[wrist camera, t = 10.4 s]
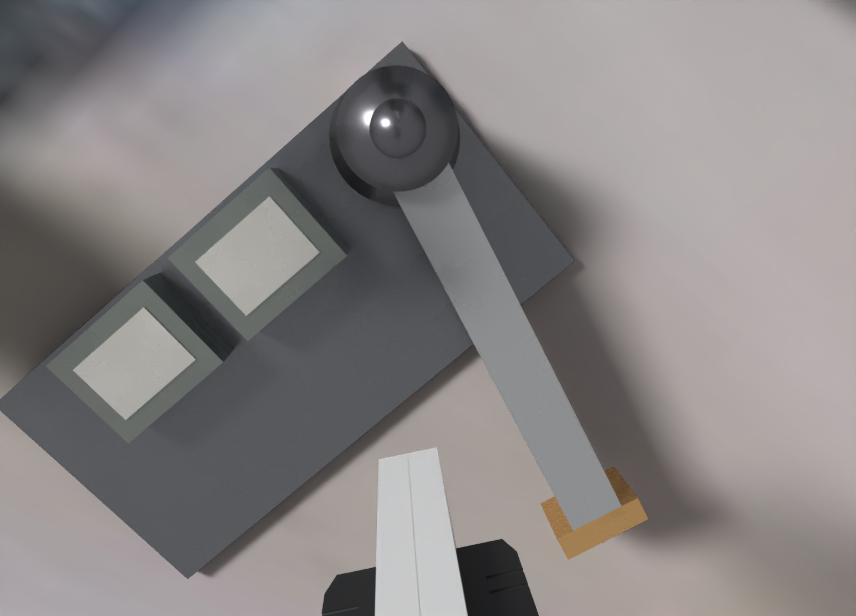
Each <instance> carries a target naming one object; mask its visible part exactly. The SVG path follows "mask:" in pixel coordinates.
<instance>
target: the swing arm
mask: <svg viewBox="0 0 856 616" xmlns="http://www.w3.org/2000/svg"><path fill="white" fill-rule="evenodd" d="M336 131H337V140H338V144H339V148H340V151H341V153H342V155H343V157H344V159H345V161H346V163H347V164H348V166H349V167H350V168H351V169H352V171H353V172H354V173H355V174H356V175H357V176H358V177H359V178H361V179H362V180H363V181H365V182H366V183H368V184H370V185H372V186H374V187H376V188H379V189H382V190H386V191H393V193H394V195H395V196H396V198H397V200H398V202H399V204H400V206H401V208H402V210H403V212H404V213H405V215H406V217H407V219H408V221H409V223H410V225H411V227H412V228H413V230H414V232H415V234H416V236H417V238H418V240H419V242H420V243H421V245H422V247H423V249H424V251H425V253H426V255H427V257H428V259H429V260H430V262H431V264H432V266H433V268H434V270H435V272H436V274H437V275H438V277H439V279H440V281H441V283H442V285H443V287H444V289H445V291H446V292H447V294H448V296H449V298H450V300H451V302H452V304H453V306H454V307H455V309H456V311H457V313H458V315H459V317H460V319H461V321H462V323H463V324H464V326H465V328H466V330H467V332H468V334H469V336H470V338H471V339H472V341H473V343H474V345H475V347H476V349H477V351H478V353H479V354H480V356H481V358H482V360H483V362H484V364H485V366H486V368H487V370H488V371H489V373H490V375H491V377H492V379H493V381H494V383H495V385H496V386H497V388H498V390H499V392H500V394H501V396H502V398H503V400H504V402H505V403H506V405H507V407H508V409H509V411H510V413H511V415H512V417H513V418H514V420H515V422H516V424H517V426H518V428H519V430H520V432H521V434H522V435H523V437H524V439H525V441H526V443H527V445H528V447H529V449H530V450H531V452H532V454H533V456H534V458H535V460H536V462H537V464H538V465H539V467H540V469H541V471H542V473H543V475H544V477H545V479H546V481H547V482H548V484H549V486H550V488H551V490H552V492H553V494H554V496H555V497H553V498H551V499H549V500H547V501H545V502H543V503H541V506H542V508H543V510H544V512H545V514H546V516H547V518H548V521H549V523H550V525H551V527H552V529H553V531H554V533H555V536H556V538H557V540H558V542H559V543H560V545H561V547H562V549H563V551H564V553H565V554H566V556H567V558H568V560H569V559H571V558H573V557H575V556H577V555H578V554H580V553H582V552H584V551H586V550H588V549H590V548H592V547H594V546H596V545H598V544H600V543H602V542H604V541H606V540H608V539H610V538H612V537H614V536H616V535H618V534H620V533H622V532H624V531H626V530H628V529H630V528H632V527H634V526H636V525H638V524H640V523H642V522H644V521H646V520H648V517H647V515H646V513H645V511H644V509H643V507H642V505H641V503H640V501H639V499H638V497H637V496H636V495H635V493H634V492H633V491H632V490H631V488H630V487H629V486H628V484H627V483H626V482H625V481H624V479H623V478H622V477H621V475H620V474H619V473H618V471H617V470H616V469H615V468H614V466H613V467H611V468H609V469H607V470H605V471H604V470H603V468H602V466H601V464H600V462H599V460H598V458H597V456H596V454H595V452H594V450H593V448H592V446H591V444H590V442H589V440H588V438H587V436H586V434H585V432H584V430H583V428H582V426H581V424H580V422H579V420H578V418H577V416H576V414H575V412H574V410H573V408H572V406H571V405H570V403H569V401H568V399H567V397H566V395H565V393H564V391H563V389H562V387H561V385H560V383H559V381H558V379H557V377H556V375H555V373H554V371H553V369H552V367H551V365H550V363H549V361H548V359H547V357H546V355H545V353H544V351H543V349H542V347H541V345H540V343H539V341H538V339H537V337H536V335H535V333H534V331H533V329H532V327H531V325H530V323H529V321H528V319H527V317H526V315H525V313H524V311H523V309H522V307H521V305H520V303H519V301H518V299H517V297H516V295H515V293H514V291H513V289H512V287H511V285H510V283H509V281H508V279H507V277H506V275H505V273H504V272H503V270H502V268H501V266H500V264H499V262H498V260H497V258H496V256H495V254H494V252H493V250H492V248H491V246H490V244H489V242H488V240H487V238H486V236H485V234H484V232H483V230H482V228H481V226H480V224H479V222H478V220H477V218H476V216H475V214H474V212H473V210H472V208H471V206H470V204H469V202H468V200H467V198H466V196H465V194H464V192H463V190H462V188H461V186H460V184H459V182H458V180H457V178H456V176H455V174H454V172H453V170H452V168H451V166H450V164H449V162H450V160H451V158H452V156H453V153H454V151H455V148H456V143H457V138H458V121H457V115H456V111H455V108H454V106H453V103H452V101H451V99H450V97H449V95H448V94H447V92H446V91H445V90H444V88H443V87H442V86H441V85H440V84H439V83H438V82H437V81H436V80H435V79H434V78H432V77H431V76H430V75H428V74H426V73H424V72H423V71H420V70H418V69H415V68H412V67H408V66H400V65H392V66H385V67H381V68H378V69H375V70H372V71H370V72H368V73H367V74H365V75H363V76H362V77H361V78H359V79H358V80H357V81H356V82H355V83H354V84H353V85H352V86H351V87H350V88H349V90H348V91H347V93H346V94H345V96H344V98H343V100H342V102H341V105H340V108H339V111H338V116H337V124H336Z"/></svg>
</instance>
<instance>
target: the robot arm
mask: <svg viewBox="0 0 856 616" xmlns="http://www.w3.org/2000/svg"><path fill="white" fill-rule="evenodd" d="M322 616H539V615H538V612H537V609H536V606H535V603H534V600H533V597H532V594H531V592H530V589H529V587H528V583H527V580H526V577H525V574H524V572H523V568H522V565H521V562H520V560H519V557H518V554H517V551H515V550H514V549H513V548H512V547H511V546H510V545H508V544H507V543H506V542H505V541H504V540H503V539H499V540H494V541H490V542H485V543H480V544H475V545H470V546H466V547H461V548H457V547H456V542H455V537H454V532H453V527H452V522H451V517H450V512H449V507H448V502H447V497H446V492H445V487H444V482H443V477H442V472H441V467H440V462H439V457H438V452H437V448H432V449H427V450H422V451H417V452H412V453H407V454H402V455H397V456H392V457H388V458H383V459H379V474H378V514H377V553H376V567H373V568H369V569H364V570H359V571H354V572H349V573H345V574H340V575H337V576H336V577H335V579H334V580H333V582H332V583H331V585H330V586H329V588H328V589H327V591H326V592H325V595H324V602H323V609H322Z"/></svg>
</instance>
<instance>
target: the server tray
mask: <svg viewBox="0 0 856 616" xmlns="http://www.w3.org/2000/svg"><path fill="white" fill-rule="evenodd" d="M392 65H400V66H408V67H412V68H415V69H418V70H420V71H423V72H424V73H426V74H428V73H427V72H426V71H425V70H424V68H423V67H422V66H421V65H420V63H419V62H418V61H417V59H416V58H415V57H414V56H413V54H412V53H411V52H410V51H409V49H408V48H407V47H406V45H405V44H404V43H403V42H401V43H400V44H399V45H398V46H396V47H395V48H394V49H393V50H392V51H391V52H390V53H389V54H387V55H386V56H385V57H384V58H383V59H382V60H381V61H380V62H378V63H377V64H376V65H375V66H374V67H373V68H372V69H371V70H369V71H368V72H370V71H372V70H375V69H378V68H381V67H385V66H392ZM368 72H367V73H368ZM367 73H366V74H367ZM348 90H349V89H348ZM348 90H347V91H348ZM347 91H346V92H345V93H344V94H342V95H341V96H340V97H339V98H338V99H337V100H336V101H335V102H334V103H332V104H331V105H330V106H329V107H328V108H327V109H326V110H325V111H323V112H322V113H321V114H320V115H319V116H318V117H317V118H316V119H314V120H313V121H312V122H311V123H310V124H309V125H308V126H307V127H305V128H304V129H303V130H302V131H301V132H300V133H299V134H298V135H296V136H295V137H294V138H293V139H292V140H291V141H290V142H289V143H287V144H286V145H285V146H284V147H283V148H282V149H281V150H280V151H278V152H277V153H276V154H275V155H274V156H273V157H272V158H271V159H270V160H268V161H267V162H266V163H265V164H264V165H263V166H262V167H261V168H259V169H258V170H257V171H256V172H255V173H254V174H253V175H252V176H250V177H249V178H248V179H247V180H246V181H245V182H244V183H243V184H241V185H240V186H239V187H238V188H237V189H236V190H235V191H234V192H232V193H231V194H230V195H229V196H228V197H227V198H226V199H225V200H223V201H222V202H221V203H220V204H219V205H218V206H217V207H216V208H214V209H213V210H212V211H211V212H210V213H209V214H208V215H207V216H205V217H204V218H203V219H202V220H201V221H200V222H199V223H198V224H197V225H195V226H194V227H193V228H192V229H191V230H190V231H189V232H188V233H186V234H185V235H184V236H183V237H182V238H181V239H180V240H179V241H177V242H176V243H175V244H174V245H173V246H172V247H171V248H170V249H168V250H167V251H166V252H165V253H164V254H163V255H162V256H161V257H159V258H158V259H157V260H156V261H155V262H154V263H153V264H152V265H150V266H149V267H148V268H147V269H146V270H145V271H144V272H143V273H141V274H140V275H139V276H138V277H137V278H136V279H135V280H134V281H132V282H131V283H130V284H129V285H128V286H127V287H126V288H125V289H124V290H122V291H121V292H120V293H119V294H118V295H117V296H116V297H115V298H113V299H112V300H111V301H110V302H109V303H108V304H107V305H106V306H104V307H103V308H102V309H101V310H100V311H99V312H98V313H97V314H95V315H94V316H93V317H92V318H91V319H90V320H89V321H88V322H86V323H85V324H84V325H83V326H82V327H81V328H80V329H79V330H77V331H76V332H75V333H74V334H73V335H72V336H71V337H70V338H68V339H67V340H66V341H65V342H64V343H63V344H62V345H61V346H59V347H58V348H57V349H56V350H55V351H54V352H53V353H52V354H51V355H49V356H48V357H47V358H46V359H45V360H44V361H43V362H42V363H40V364H39V365H38V366H37V367H36V368H35V369H34V370H33V371H31V372H30V373H29V374H28V375H27V376H26V377H25V378H24V379H22V380H21V381H20V382H19V383H18V384H17V385H16V386H15V387H13V388H12V389H11V390H10V391H9V392H8V393H7V394H6V395H4V396H3V397H2V398H1V399H0V411H1V412H3V413H4V414H5V415H6V416H7V417H8V418H9V419H10V420H11V421H13V422H14V423H15V424H16V425H17V426H18V427H19V428H20V429H21V430H23V431H24V432H25V433H26V434H27V435H28V436H29V437H30V438H31V439H33V440H34V441H35V442H36V443H37V444H38V445H39V446H40V447H41V448H43V449H44V450H45V451H46V452H47V453H48V454H49V455H50V456H51V457H53V458H54V459H55V460H56V461H57V462H58V463H59V464H60V465H61V466H63V467H64V468H65V469H66V470H67V471H68V472H69V473H70V474H71V475H73V476H74V477H75V478H76V479H77V480H78V481H79V482H80V483H81V484H83V485H84V486H85V487H86V488H87V489H88V490H89V491H90V492H91V493H93V494H94V495H95V496H96V497H97V498H98V499H99V500H100V501H101V502H103V503H104V504H105V505H106V506H107V507H108V508H109V509H110V510H111V511H113V512H114V513H115V514H116V515H117V516H118V517H119V518H120V519H121V520H123V521H124V522H125V523H126V524H127V525H128V526H129V527H130V528H131V529H133V530H134V531H135V532H136V533H137V534H138V535H139V536H140V537H141V538H143V539H144V540H145V541H146V542H147V543H148V544H149V545H150V546H151V547H153V548H154V549H155V550H156V551H157V552H158V553H159V554H160V555H162V556H163V557H164V558H165V559H166V560H167V561H168V562H169V563H170V564H172V565H173V566H174V567H175V568H176V569H177V570H178V571H179V572H180V573H182V574H183V575H184V576H185V577H186V578H187V579H188V578H190V577H191V576H192V575H193V574H194V573H196V572H197V571H198V570H199V569H200V568H202V567H203V566H204V565H205V564H207V563H208V562H209V561H210V560H211V559H213V558H214V557H215V556H216V555H218V554H219V553H220V552H221V551H222V550H224V549H225V548H226V547H227V546H228V545H230V544H231V543H232V542H233V541H235V540H236V539H237V538H238V537H239V536H241V535H242V534H243V533H244V532H245V531H247V530H248V529H249V528H250V527H252V526H253V525H254V524H255V523H256V522H258V521H259V520H260V519H261V518H262V517H264V516H265V515H266V514H267V513H269V512H270V511H271V510H272V509H273V508H275V507H276V506H277V505H278V504H279V503H281V502H282V501H283V500H284V499H286V498H287V497H288V496H289V495H290V494H292V493H293V492H294V491H295V490H296V489H298V488H299V487H300V486H301V485H303V484H304V483H305V482H306V481H307V480H309V479H310V478H311V477H312V476H314V475H315V474H316V473H317V472H318V471H320V470H321V469H322V468H323V467H324V466H326V465H327V464H328V463H329V462H331V461H332V460H333V459H334V458H335V457H337V456H338V455H339V454H340V453H341V452H343V451H344V450H345V449H346V448H348V447H349V446H350V445H351V444H352V443H354V442H355V441H356V440H357V439H358V438H360V437H361V436H362V435H363V434H365V433H366V432H367V431H368V430H369V429H371V428H372V427H373V426H374V425H375V424H377V423H378V422H379V421H380V420H382V419H383V418H384V417H385V416H386V415H388V414H389V413H390V412H391V411H393V410H394V409H395V408H396V407H397V406H399V405H400V404H401V403H402V402H403V401H405V400H406V399H407V398H408V397H410V396H411V395H412V394H413V393H414V392H416V391H417V390H418V389H419V388H420V387H422V386H423V385H424V384H425V383H427V382H428V381H429V380H430V379H431V378H433V377H434V376H435V375H436V374H437V373H439V372H440V371H441V370H442V369H444V368H445V367H446V366H447V365H448V364H450V363H451V362H452V361H453V360H454V359H456V358H457V357H458V356H459V355H461V354H462V353H463V352H464V351H465V350H467V349H468V348H469V347H470V346H471V345H473V344H474V343H473V341H472V339H471V338H470V336H469V334H468V332H467V330H466V328H465V326H464V324H463V323H462V321H461V319H460V317H459V315H458V313H457V311H456V309H455V307H454V306H453V304H452V302H451V300H450V298H449V296H448V294H447V292H446V291H445V289H444V287H443V285H442V283H441V281H440V279H439V277H438V275H437V274H436V272H435V270H434V268H433V266H432V264H431V262H430V260H429V259H428V257H427V255H426V253H425V251H424V249H423V247H422V245H421V243H420V242H419V240H418V238H417V236H416V234H415V232H414V230H413V228H412V227H411V225H410V223H409V221H408V219H407V217H406V215H405V213H404V212H403V210H402V208H401V206H400V204H399V202H398V200H397V198H396V196H395V195H394V193H393V191H386V190H382V189H379V188H376V187H374V186H372V185H370V184H368V183H366V182H365V181H363V180H362V179H361V178H359V177H358V176H357V175H356V174H355V173H354V172H353V171H352V169H351V168H350V167H349V166H348V164H347V163H346V161H345V159H344V157H343V155H342V153H341V151H340V148H339V144H338V140H337V131H336V124H337V116H338V111H339V108H340V105H341V102H342V100H343V98H344V96H345V94H346V93H347ZM455 111H456V115H457V121H458V138H457V143H456V148H455V151H454V153H453V156H452V158H451V160H450V162H449V164H450V166H451V168H452V170H453V172H454V174H455V176H456V178H457V180H458V182H459V184H460V186H461V188H462V190H463V192H464V194H465V196H466V198H467V200H468V202H469V204H470V206H471V208H472V210H473V212H474V214H475V216H476V218H477V220H478V222H479V224H480V226H481V228H482V230H483V232H484V234H485V236H486V238H487V240H488V242H489V244H490V246H491V248H492V250H493V252H494V254H495V256H496V258H497V260H498V262H499V264H500V266H501V268H502V270H503V272H504V273H505V275H506V277H507V279H508V281H509V283H510V285H511V287H512V289H513V291H514V293H515V295H516V297H517V299H518V301H519V303H520V305H521V304H523V303H524V302H525V301H526V300H527V299H529V298H530V297H531V296H532V295H533V294H535V293H536V292H537V291H538V290H540V289H541V288H542V287H543V286H544V285H546V284H547V283H548V282H549V281H550V280H552V279H553V278H554V277H555V276H557V275H558V274H559V273H560V272H561V271H563V270H564V269H565V268H566V267H567V266H569V265H570V264H571V263H572V262H574V261H575V260H574V259H573V258H572V257H571V255H570V254H569V253H568V252H567V250H566V249H565V248H564V246H563V245H562V244H561V243H560V241H559V240H558V239H557V238H556V236H555V235H554V234H553V232H552V231H551V230H550V229H549V227H548V226H547V225H546V224H545V222H544V221H543V220H542V219H541V217H540V216H539V215H538V213H537V212H536V211H535V210H534V208H533V207H532V206H531V205H530V203H529V202H528V201H527V199H526V198H525V197H524V196H523V194H522V193H521V192H520V191H519V189H518V188H517V187H516V185H515V184H514V183H513V182H512V180H511V179H510V178H509V177H508V175H507V174H506V173H505V171H504V170H503V169H502V168H501V166H500V165H499V164H498V163H497V161H496V160H495V159H494V157H493V156H492V155H491V154H490V152H489V151H488V150H487V149H486V147H485V146H484V145H483V143H482V142H481V141H480V140H479V138H478V137H477V136H476V135H475V133H474V132H473V131H472V129H471V128H470V127H469V126H468V124H467V123H466V122H465V121H464V119H463V118H462V117H461V115H460V114H459V113H458V112H457V110H456V109H455Z"/></svg>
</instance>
